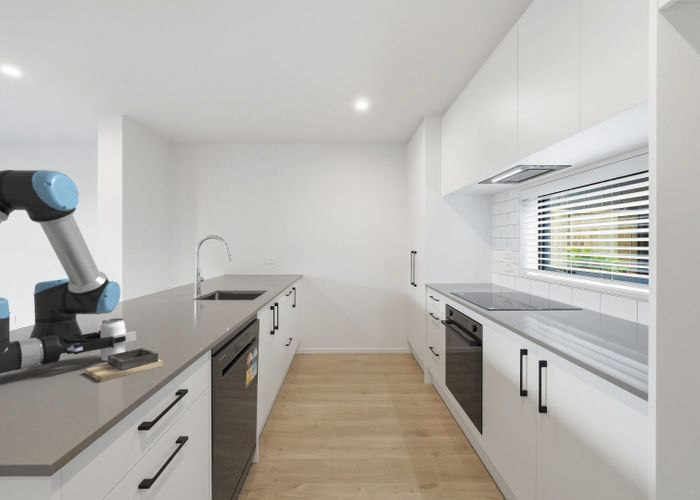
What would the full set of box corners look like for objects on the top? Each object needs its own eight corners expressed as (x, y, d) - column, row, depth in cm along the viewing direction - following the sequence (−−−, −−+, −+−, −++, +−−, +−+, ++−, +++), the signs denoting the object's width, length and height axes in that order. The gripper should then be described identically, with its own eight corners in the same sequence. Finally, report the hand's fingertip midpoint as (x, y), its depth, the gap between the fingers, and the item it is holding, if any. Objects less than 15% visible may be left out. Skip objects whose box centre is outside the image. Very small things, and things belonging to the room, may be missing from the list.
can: (113, 362, 109) (112, 322, 109) (95, 360, 110) (94, 321, 110) (130, 355, 115) (129, 318, 115) (113, 354, 117) (112, 317, 116)
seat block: (85, 373, 100) (85, 359, 100) (145, 358, 113) (145, 346, 113) (101, 381, 93) (101, 367, 93) (163, 365, 106) (163, 352, 106)
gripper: (29, 358, 104) (118, 341, 123) (50, 372, 93) (144, 350, 111) (29, 332, 104) (118, 319, 122) (49, 343, 93) (144, 326, 111)
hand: (130, 334), depth 117 cm, fingers closed on can, 6 cm apart
